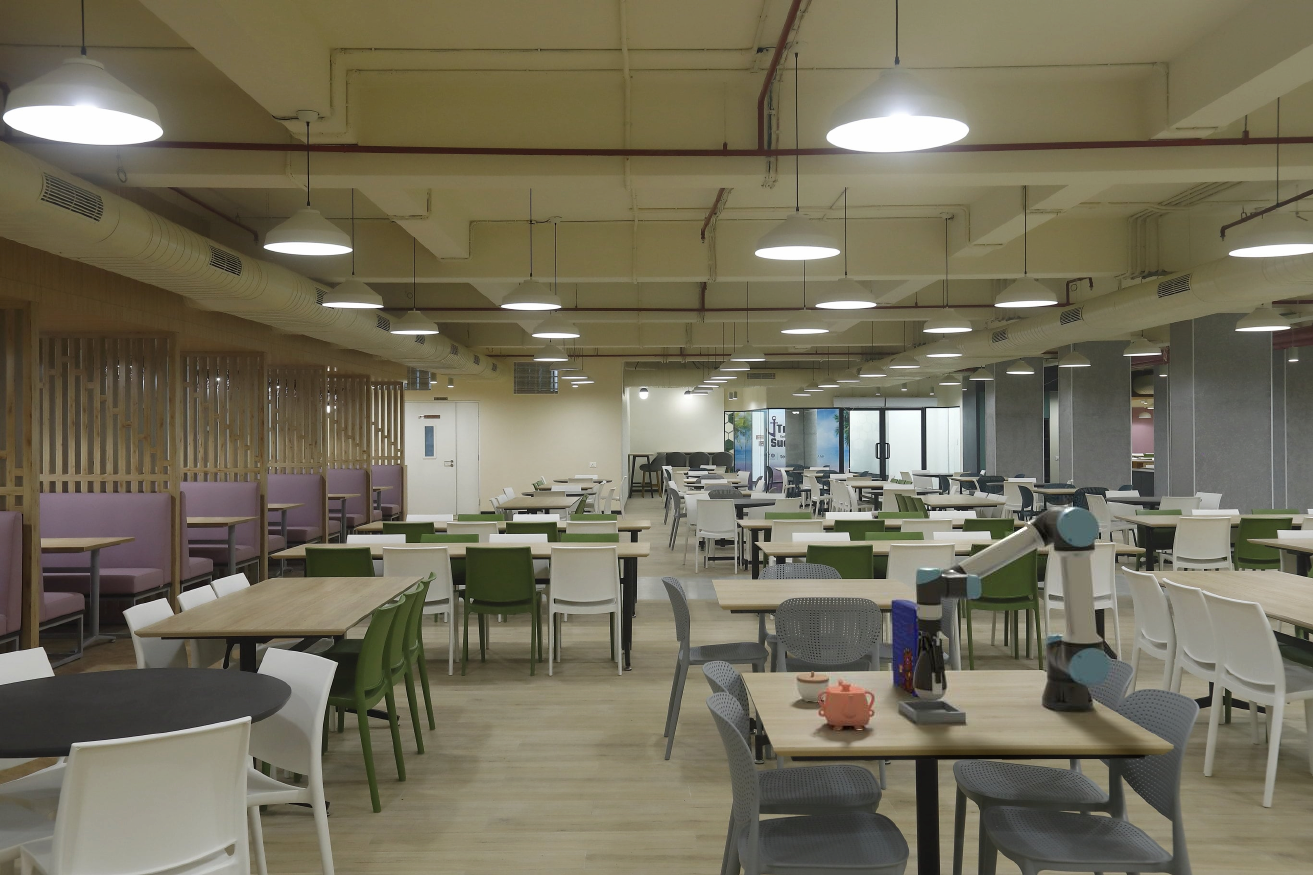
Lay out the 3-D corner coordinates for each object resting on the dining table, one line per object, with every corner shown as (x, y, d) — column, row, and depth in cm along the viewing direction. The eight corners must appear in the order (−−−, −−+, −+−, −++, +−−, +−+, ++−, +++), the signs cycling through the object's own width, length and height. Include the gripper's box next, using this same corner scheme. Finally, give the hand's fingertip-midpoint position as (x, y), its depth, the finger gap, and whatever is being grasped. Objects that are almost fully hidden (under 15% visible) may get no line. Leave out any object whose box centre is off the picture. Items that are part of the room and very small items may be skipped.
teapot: (852, 736, 259) (851, 692, 260) (808, 724, 272) (807, 682, 272) (884, 727, 269) (883, 684, 269) (840, 715, 281) (839, 675, 282)
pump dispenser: (955, 700, 277) (954, 650, 278) (927, 703, 273) (926, 653, 274) (933, 693, 286) (932, 645, 287) (906, 696, 283) (905, 647, 283)
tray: (945, 709, 288) (945, 699, 288) (965, 722, 273) (965, 712, 273) (898, 710, 287) (898, 701, 287) (916, 724, 271) (916, 713, 271)
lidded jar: (829, 704, 296) (829, 675, 296) (796, 703, 298) (796, 674, 298) (828, 696, 306) (828, 668, 307) (796, 695, 308) (796, 667, 308)
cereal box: (932, 696, 304) (930, 607, 306) (915, 697, 304) (913, 608, 305) (909, 682, 326) (907, 599, 327) (893, 682, 326) (891, 599, 327)
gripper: (904, 612, 292) (905, 681, 291) (931, 623, 269) (932, 698, 268) (927, 612, 293) (928, 680, 292) (955, 623, 270) (957, 698, 269)
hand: (930, 689), depth 280 cm, fingers closed on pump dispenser, 10 cm apart
